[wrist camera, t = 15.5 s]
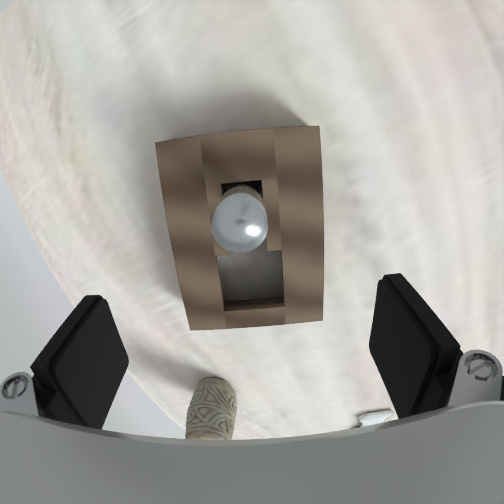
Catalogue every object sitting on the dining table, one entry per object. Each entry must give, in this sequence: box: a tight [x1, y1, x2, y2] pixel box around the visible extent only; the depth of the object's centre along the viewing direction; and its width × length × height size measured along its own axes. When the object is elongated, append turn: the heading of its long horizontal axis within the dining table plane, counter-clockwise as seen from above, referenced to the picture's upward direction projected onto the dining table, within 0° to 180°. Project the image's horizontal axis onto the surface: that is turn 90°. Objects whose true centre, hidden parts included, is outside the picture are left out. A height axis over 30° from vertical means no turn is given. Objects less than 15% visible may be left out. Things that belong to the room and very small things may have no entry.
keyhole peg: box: [211, 180, 268, 253], centre depth 28 cm, size 6×6×14 cm
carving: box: [185, 378, 237, 440], centre depth 41 cm, size 6×8×12 cm
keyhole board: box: [155, 126, 324, 331], centre depth 34 cm, size 22×16×5 cm
